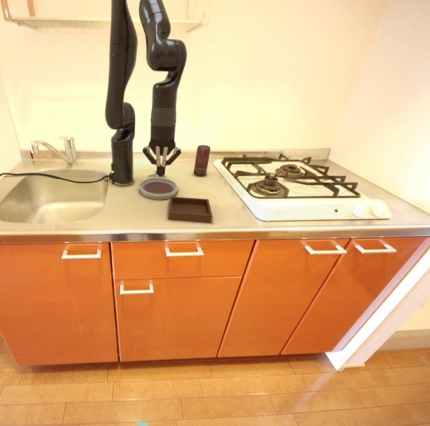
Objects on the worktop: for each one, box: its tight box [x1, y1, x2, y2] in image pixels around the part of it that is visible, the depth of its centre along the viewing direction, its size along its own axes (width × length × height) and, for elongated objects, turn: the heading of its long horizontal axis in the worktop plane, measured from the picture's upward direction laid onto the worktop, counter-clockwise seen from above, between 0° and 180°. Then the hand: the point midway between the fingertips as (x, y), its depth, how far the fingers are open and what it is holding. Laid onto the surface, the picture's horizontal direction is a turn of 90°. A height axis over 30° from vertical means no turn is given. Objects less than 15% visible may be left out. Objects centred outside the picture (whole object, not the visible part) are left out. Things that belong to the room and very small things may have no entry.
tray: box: [168, 196, 213, 224], centre depth 83 cm, size 15×12×3 cm
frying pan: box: [138, 169, 179, 201], centre depth 102 cm, size 17×3×28 cm
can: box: [193, 144, 211, 178], centre depth 109 cm, size 6×6×14 cm
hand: (160, 175), depth 77 cm, fingers closed
